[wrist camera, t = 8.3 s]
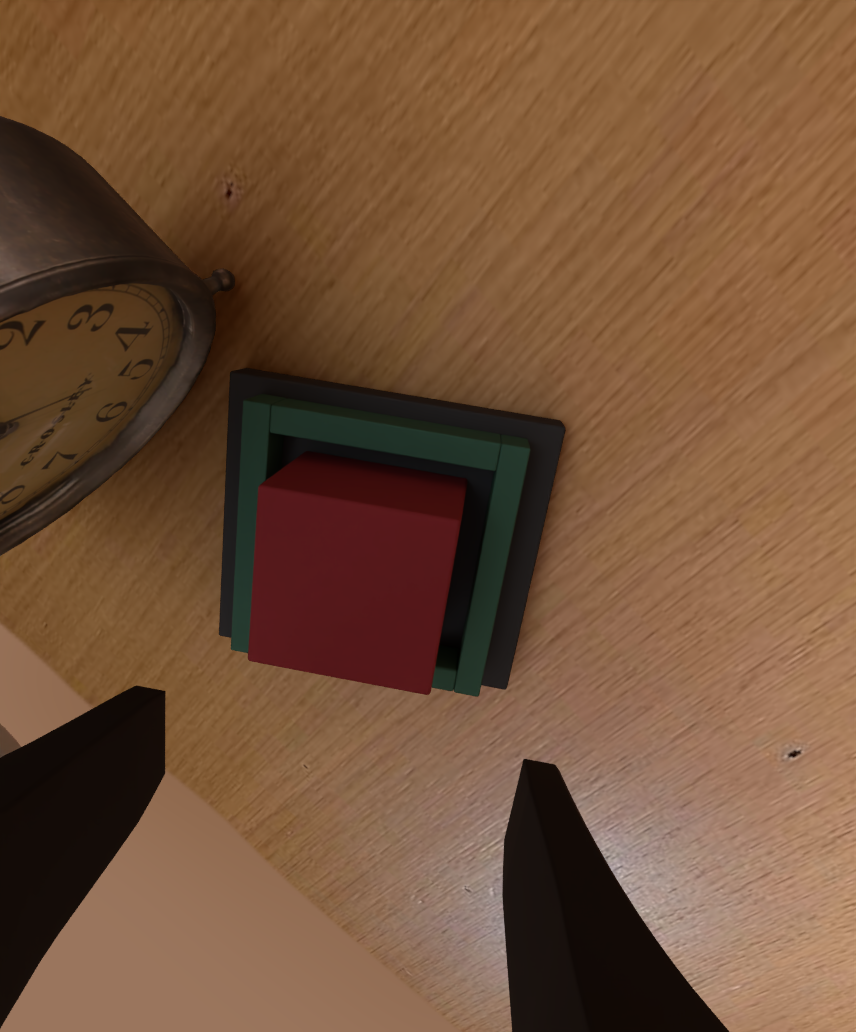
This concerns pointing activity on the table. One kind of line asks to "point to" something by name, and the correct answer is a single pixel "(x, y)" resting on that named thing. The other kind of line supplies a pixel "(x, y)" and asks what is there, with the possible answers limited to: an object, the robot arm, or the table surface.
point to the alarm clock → (83, 331)
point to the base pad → (415, 445)
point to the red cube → (354, 569)
